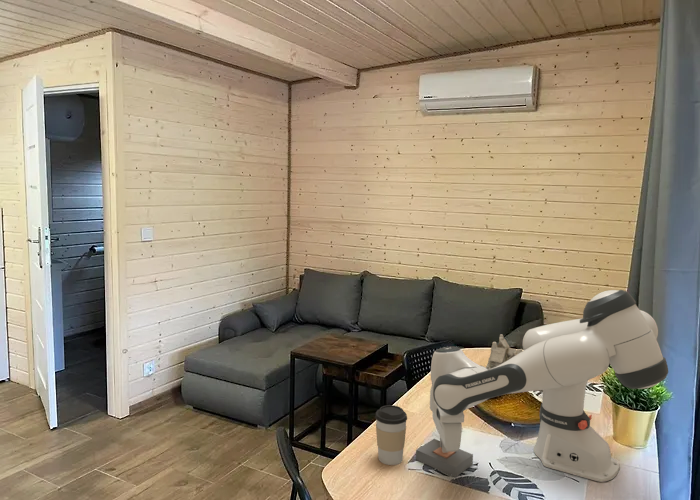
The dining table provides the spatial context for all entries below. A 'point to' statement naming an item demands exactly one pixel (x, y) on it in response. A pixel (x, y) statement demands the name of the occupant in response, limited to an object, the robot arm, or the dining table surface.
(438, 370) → the robot arm
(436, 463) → the block
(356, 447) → the dining table surface
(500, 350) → the ceramic cottage
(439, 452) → the button
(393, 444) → the coffee cup
